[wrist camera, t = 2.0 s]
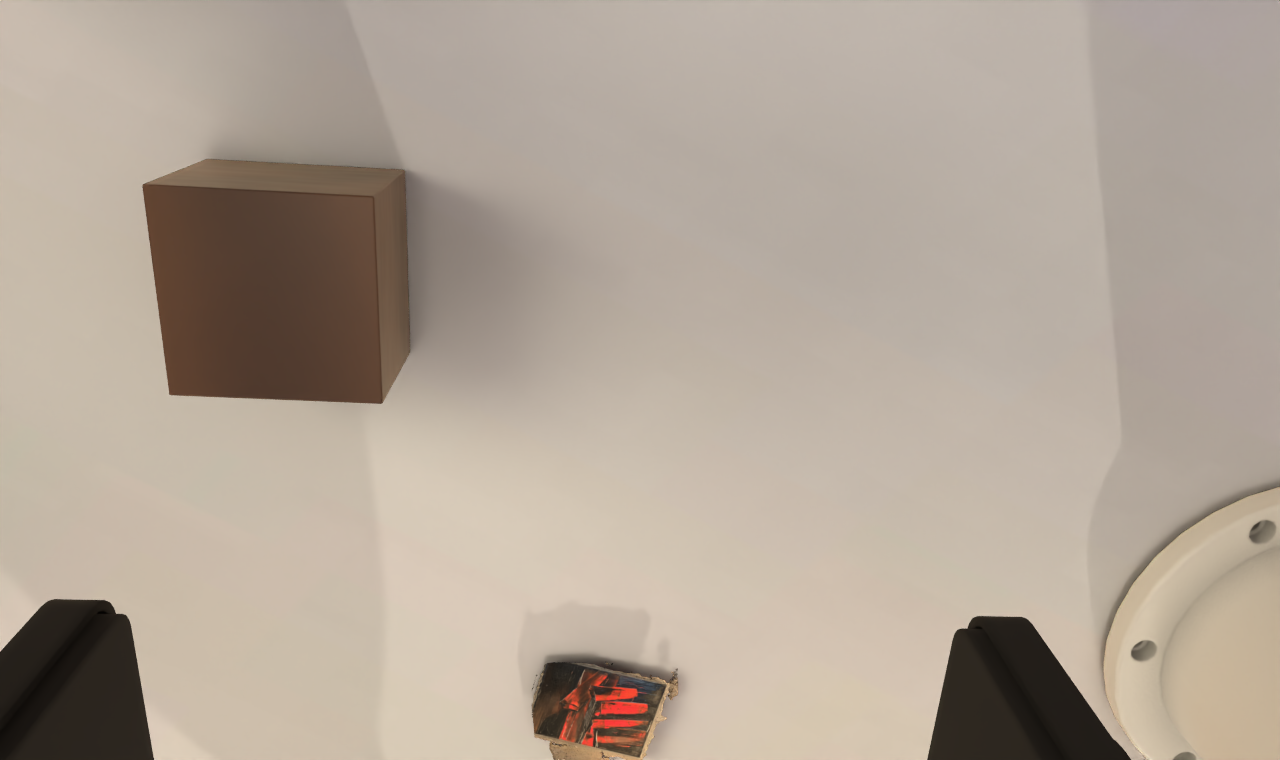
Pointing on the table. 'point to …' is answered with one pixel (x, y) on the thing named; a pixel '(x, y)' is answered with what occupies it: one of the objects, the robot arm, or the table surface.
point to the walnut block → (281, 279)
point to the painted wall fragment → (598, 711)
